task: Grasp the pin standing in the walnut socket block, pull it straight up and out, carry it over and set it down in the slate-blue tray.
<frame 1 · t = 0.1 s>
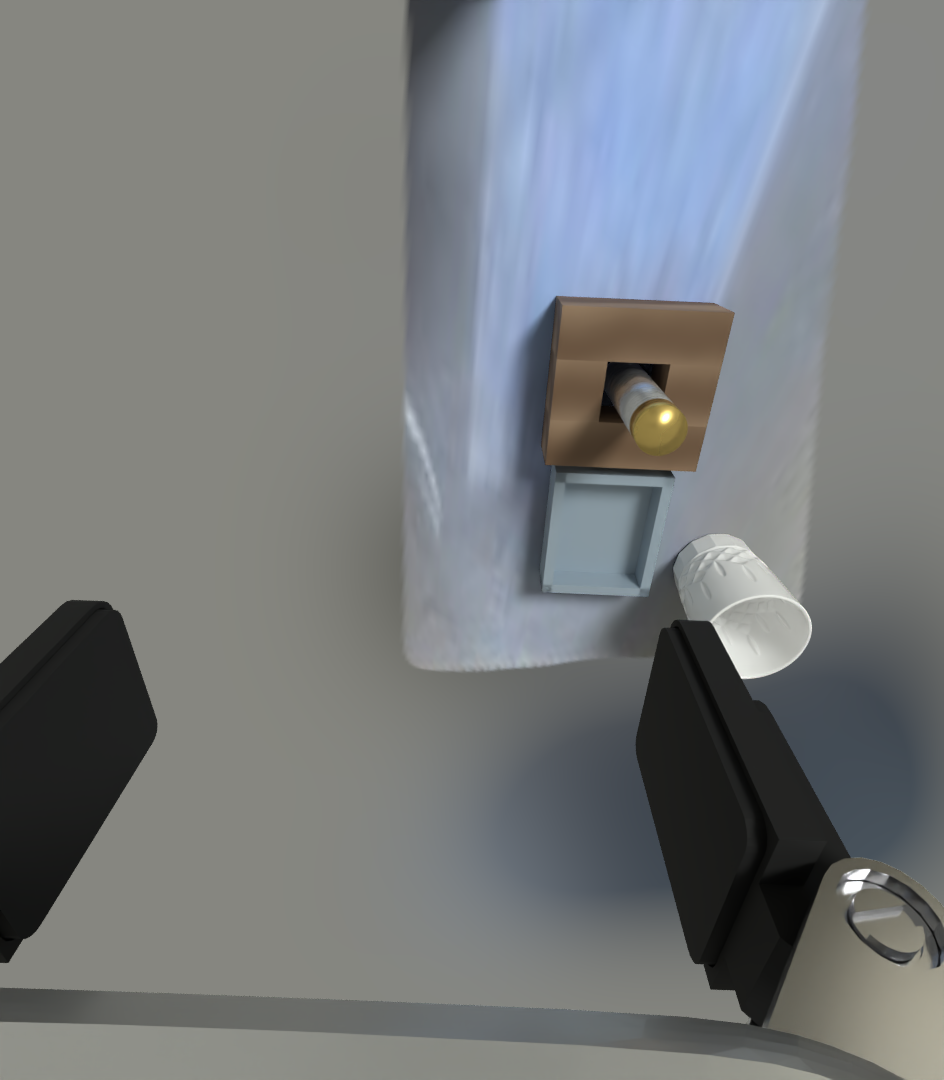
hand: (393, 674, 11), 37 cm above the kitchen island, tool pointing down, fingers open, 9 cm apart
tray: (598, 520, 50), on the kitchen island
white cup: (710, 564, 52), on the kitchen island
socket block: (622, 378, 44), on the kitchen island
pin: (639, 401, 39), in the socket block
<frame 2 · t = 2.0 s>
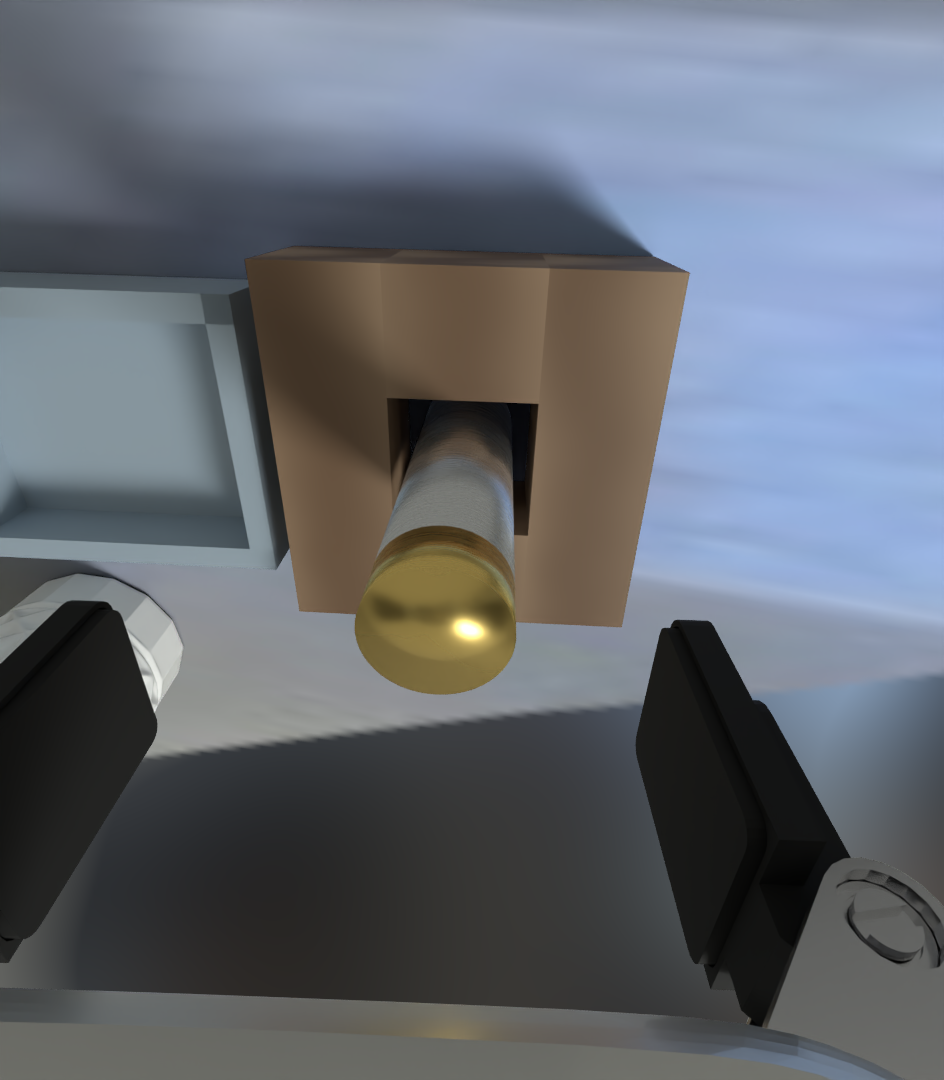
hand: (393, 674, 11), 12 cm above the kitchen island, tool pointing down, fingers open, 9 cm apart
tray: (134, 411, 21), on the kitchen island
white cup: (112, 630, 27), on the kitchen island
socket block: (468, 424, 21), on the kitchen island
pin: (457, 497, 16), in the socket block
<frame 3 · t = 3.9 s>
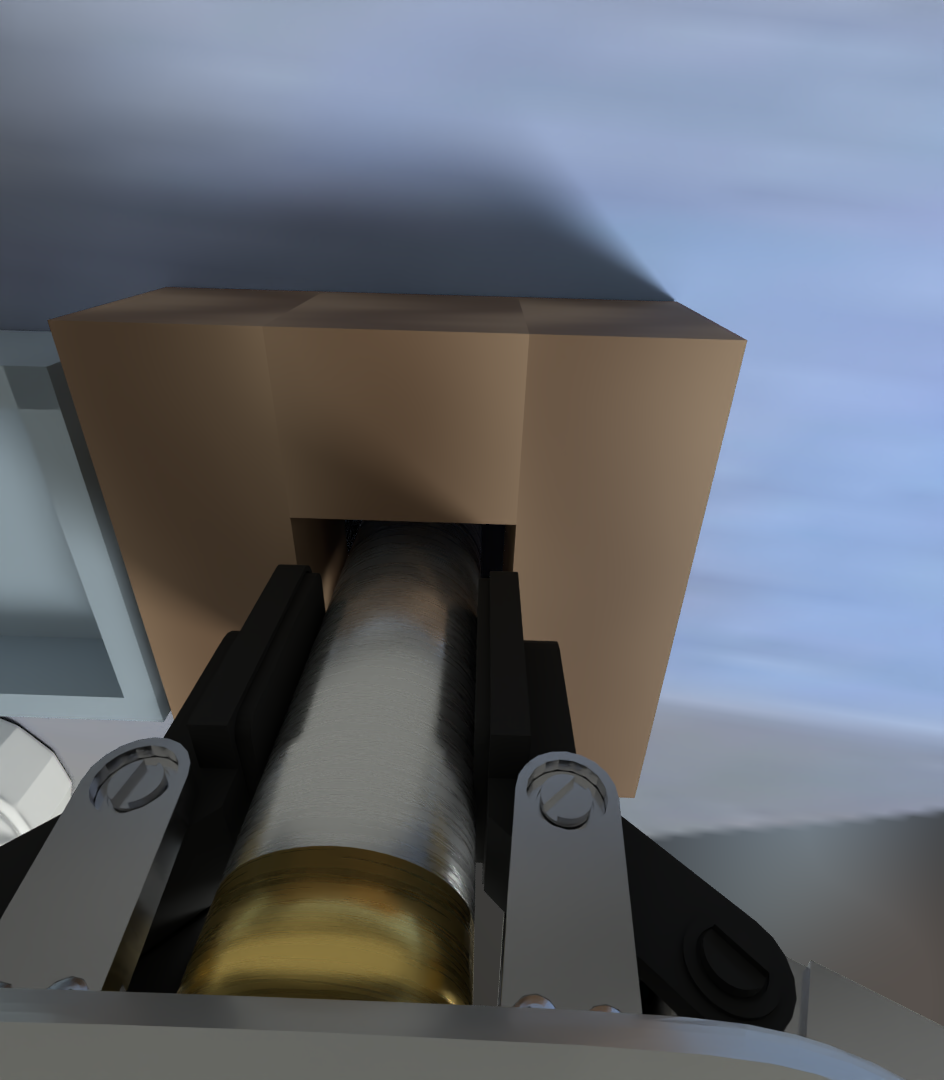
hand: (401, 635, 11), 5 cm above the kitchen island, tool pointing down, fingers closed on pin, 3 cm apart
socket block: (424, 519, 16), on the kitchen island
pin: (394, 671, 11), in the socket block, touching gripper
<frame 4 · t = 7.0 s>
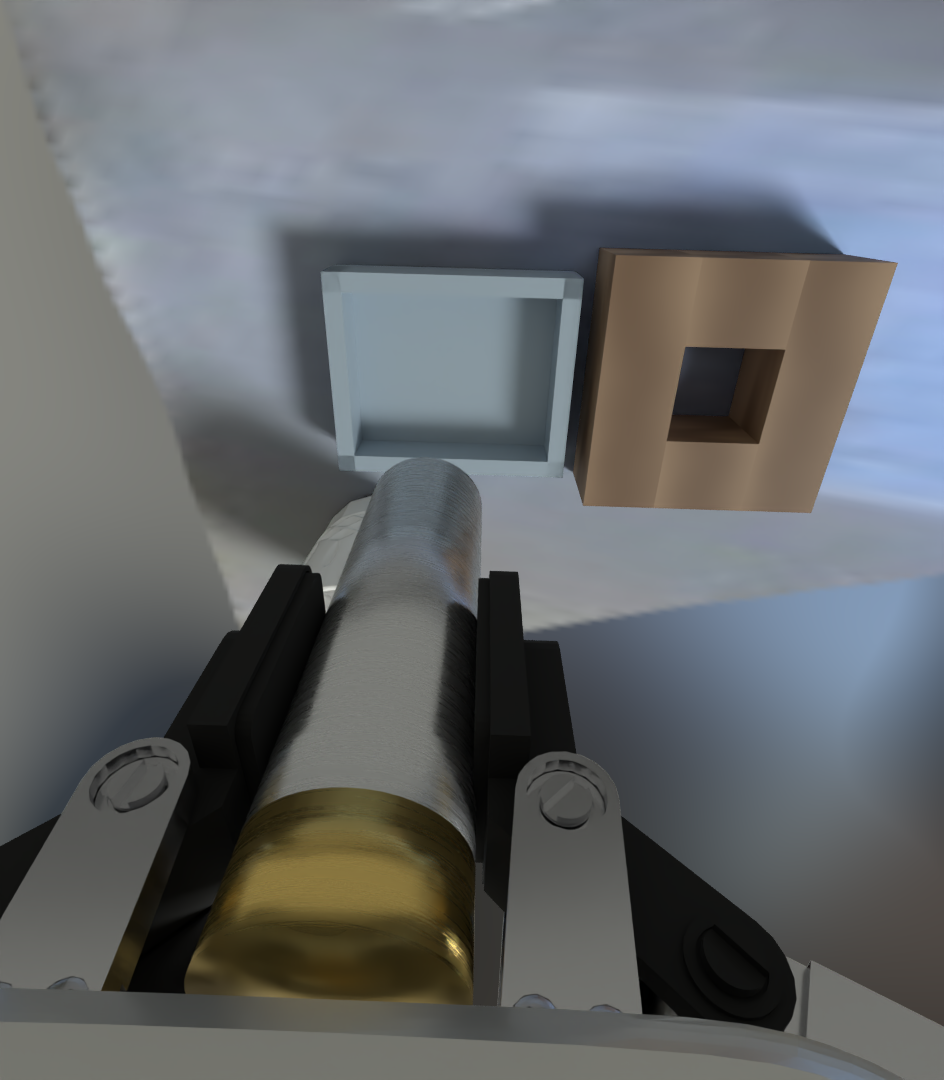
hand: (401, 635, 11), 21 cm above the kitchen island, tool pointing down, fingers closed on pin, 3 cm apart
tray: (454, 366, 30), on the kitchen island
white cup: (385, 543, 35), on the kitchen island
socket block: (696, 373, 30), on the kitchen island
pin: (399, 646, 11), point 21 cm above the kitchen island, touching gripper
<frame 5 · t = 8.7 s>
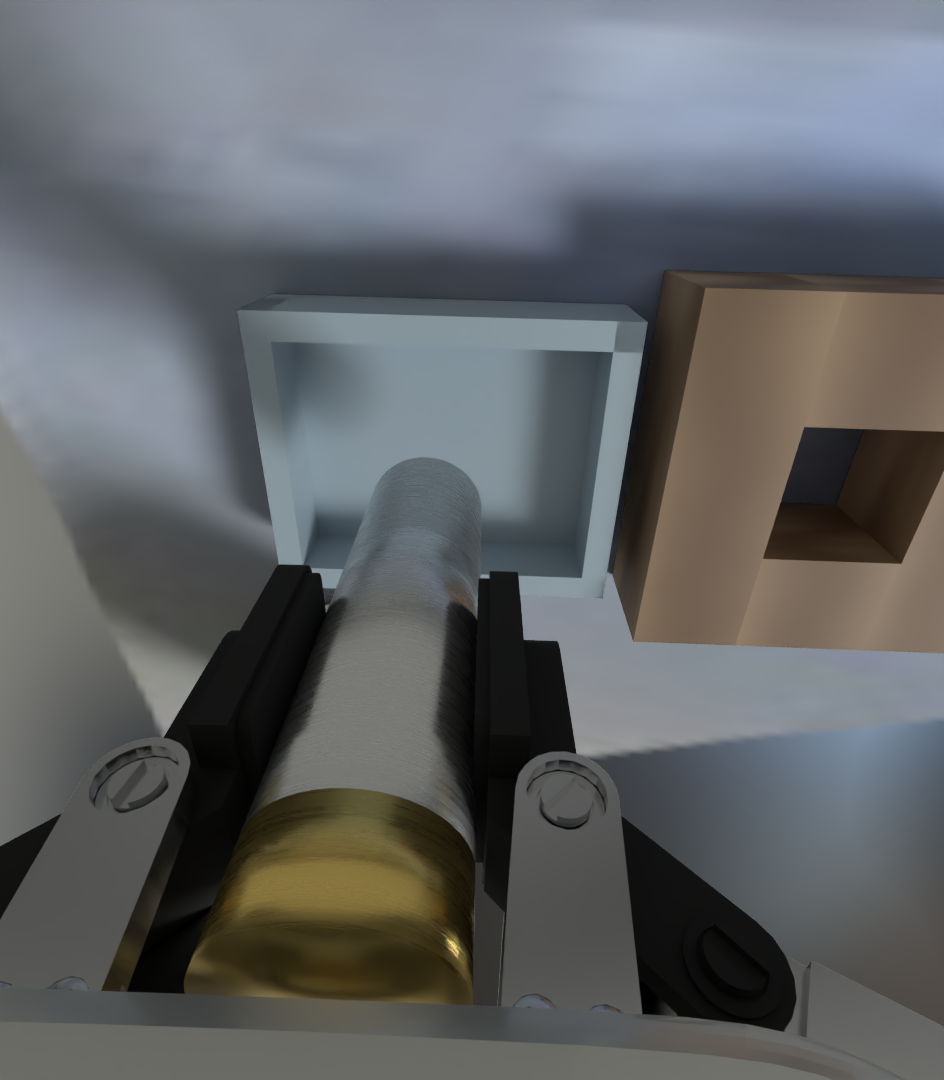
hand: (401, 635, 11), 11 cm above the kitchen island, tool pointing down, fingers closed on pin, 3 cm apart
tray: (448, 436, 21), on the kitchen island
socket block: (794, 448, 21), on the kitchen island
pin: (399, 646, 11), point 11 cm above the kitchen island, touching gripper
when the fingers open (7 cm above the kitchen island, at t = 10.2 s): pin stays where it is, resting on tray.
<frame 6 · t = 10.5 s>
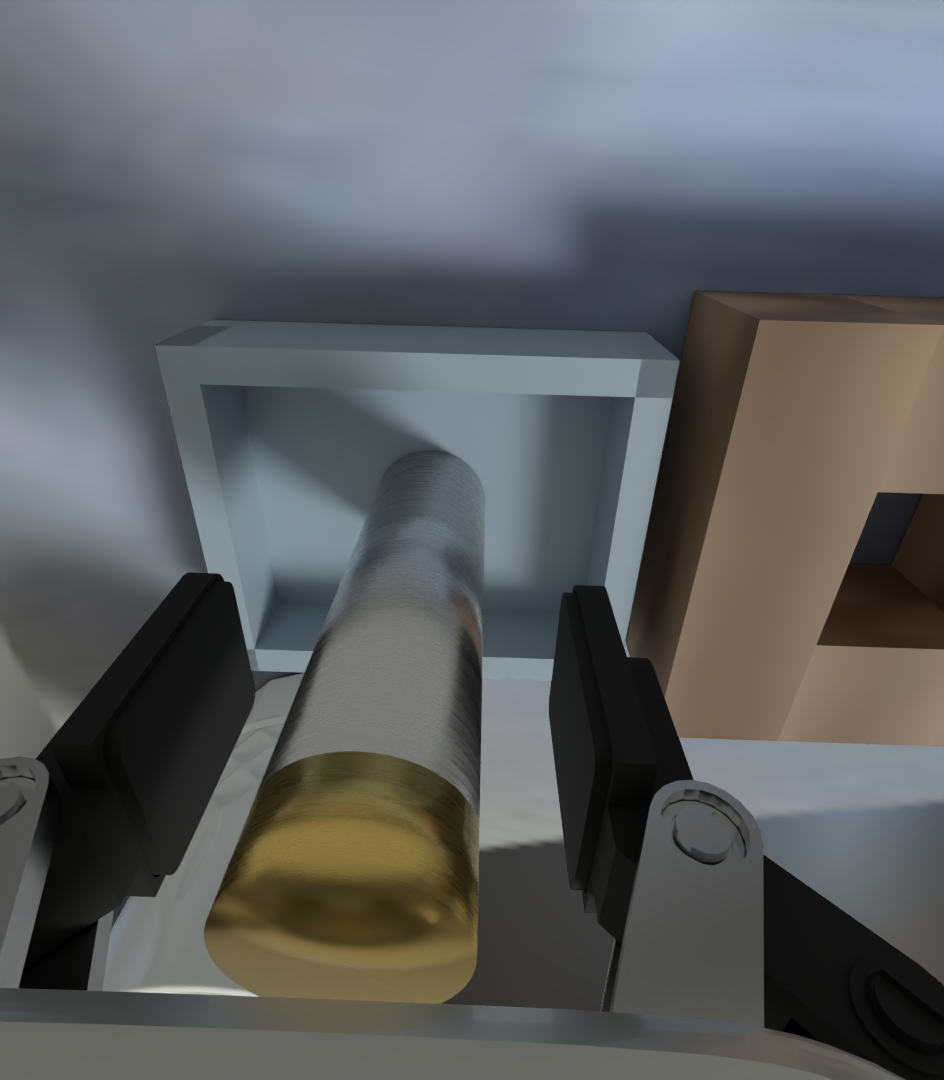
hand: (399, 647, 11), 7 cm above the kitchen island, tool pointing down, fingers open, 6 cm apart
tray: (430, 488, 17), on the kitchen island
white cup: (329, 731, 23), on the kitchen island
socket block: (845, 500, 17), on the kitchen island
pin: (405, 629, 12), in the tray, point 7 cm above the kitchen island
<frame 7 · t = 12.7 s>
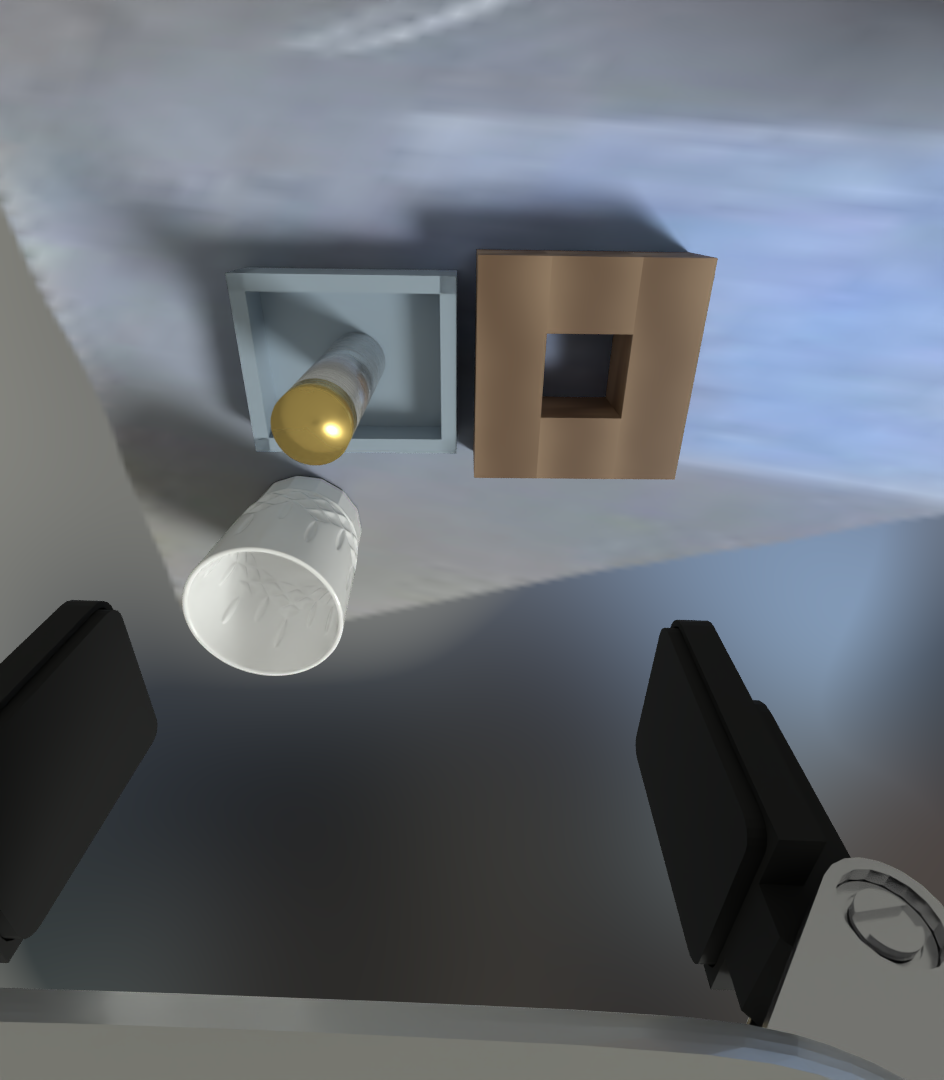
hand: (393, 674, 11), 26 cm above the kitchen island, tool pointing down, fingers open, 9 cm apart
tray: (358, 357, 33), on the kitchen island
white cup: (310, 521, 38), on the kitchen island
socket block: (572, 359, 33), on the kitchen island
pin: (338, 388, 27), in the tray, point 7 cm above the kitchen island
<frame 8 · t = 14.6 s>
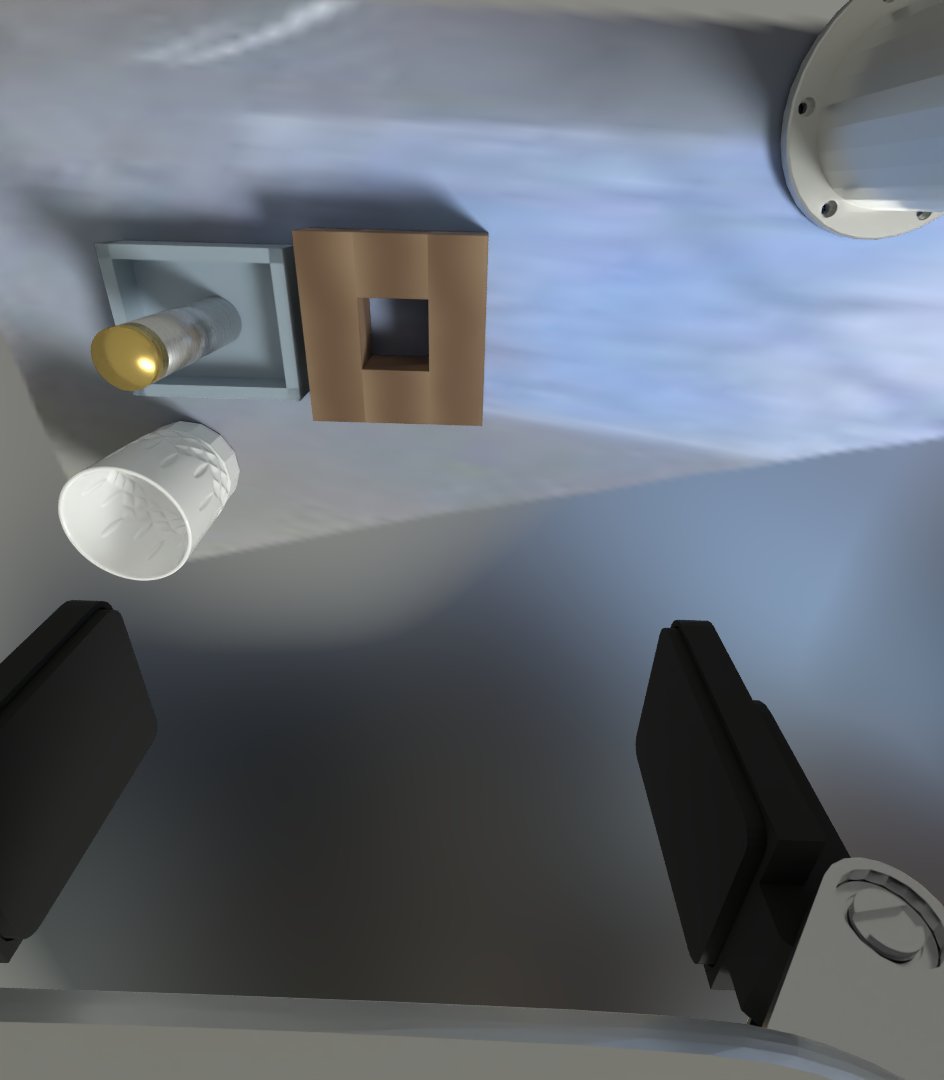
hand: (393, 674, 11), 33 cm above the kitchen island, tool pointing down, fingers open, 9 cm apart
tray: (221, 318, 39), on the kitchen island
white cup: (196, 462, 45), on the kitchen island
socket block: (402, 323, 39), on the kitchen island
pin: (177, 337, 34), in the tray, point 7 cm above the kitchen island
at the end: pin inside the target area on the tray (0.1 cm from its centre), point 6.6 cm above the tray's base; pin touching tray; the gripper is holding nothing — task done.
